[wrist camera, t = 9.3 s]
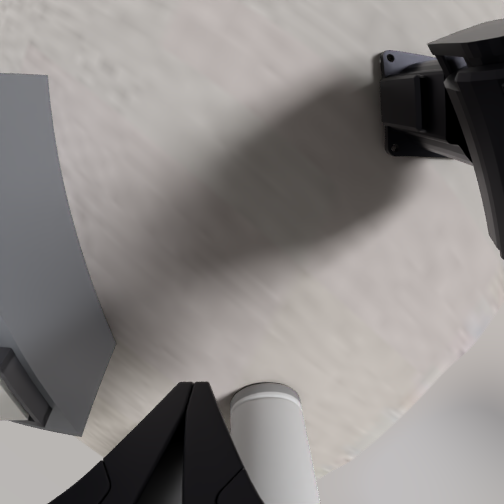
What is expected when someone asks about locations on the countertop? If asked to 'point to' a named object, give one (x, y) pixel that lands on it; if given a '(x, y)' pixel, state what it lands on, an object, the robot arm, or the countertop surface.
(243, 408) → the travel mug
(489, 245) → the countertop surface
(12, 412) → the white rocker
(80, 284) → the switch box
